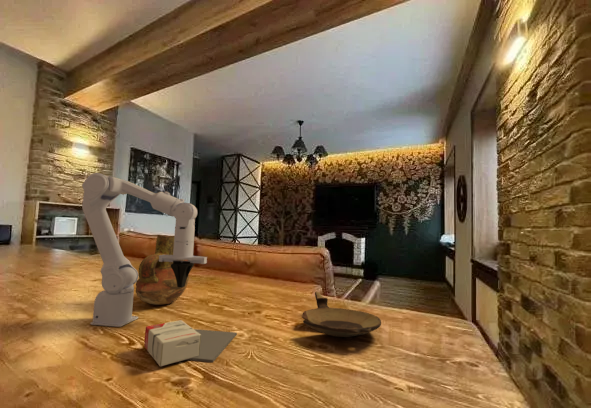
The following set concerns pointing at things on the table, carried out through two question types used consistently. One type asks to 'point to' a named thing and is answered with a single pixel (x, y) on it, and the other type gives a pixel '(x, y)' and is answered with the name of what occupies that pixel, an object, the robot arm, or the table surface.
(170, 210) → the robot arm
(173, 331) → the ink box
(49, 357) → the table surface
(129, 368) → the table surface
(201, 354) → the mat
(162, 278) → the ceramic vessel
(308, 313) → the broken handled dish
